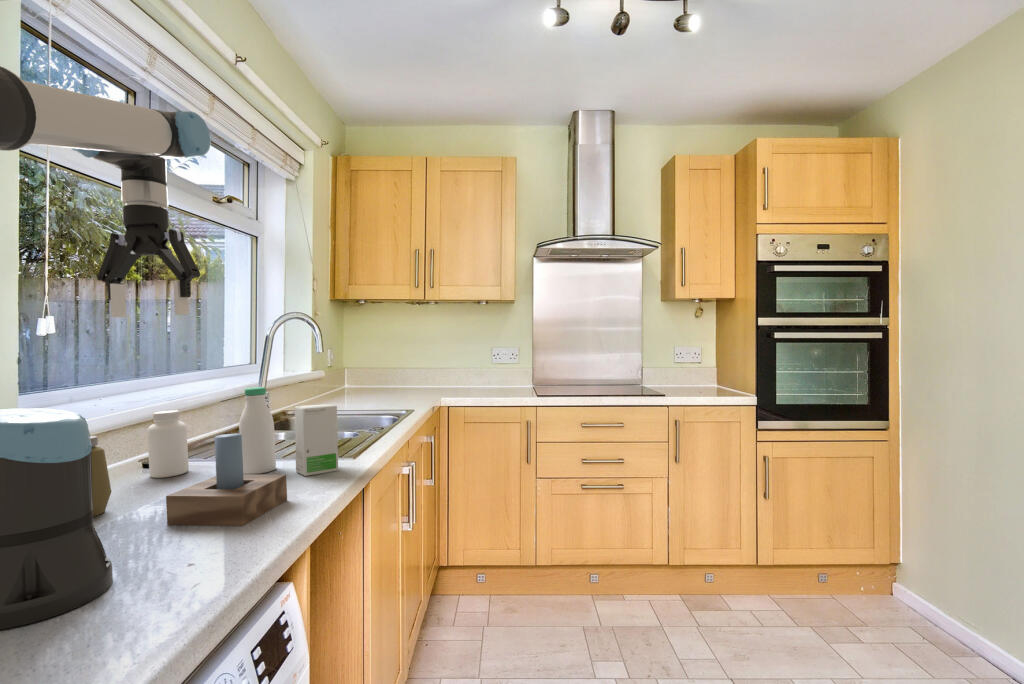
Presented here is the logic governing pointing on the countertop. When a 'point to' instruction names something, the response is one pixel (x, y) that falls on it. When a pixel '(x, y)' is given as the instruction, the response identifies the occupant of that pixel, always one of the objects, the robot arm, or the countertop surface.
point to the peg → (229, 461)
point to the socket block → (226, 501)
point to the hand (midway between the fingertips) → (150, 316)
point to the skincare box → (316, 439)
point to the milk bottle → (257, 433)
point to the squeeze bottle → (99, 478)
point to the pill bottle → (167, 445)
